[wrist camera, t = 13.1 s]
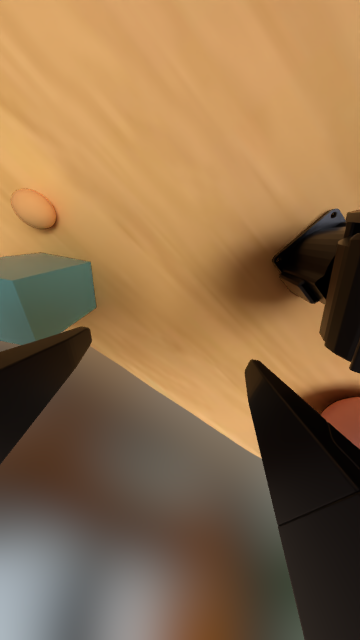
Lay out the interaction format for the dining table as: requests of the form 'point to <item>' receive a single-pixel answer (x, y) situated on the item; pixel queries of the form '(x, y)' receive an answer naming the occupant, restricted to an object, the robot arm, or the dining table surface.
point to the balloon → (345, 418)
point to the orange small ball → (33, 208)
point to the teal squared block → (42, 295)
